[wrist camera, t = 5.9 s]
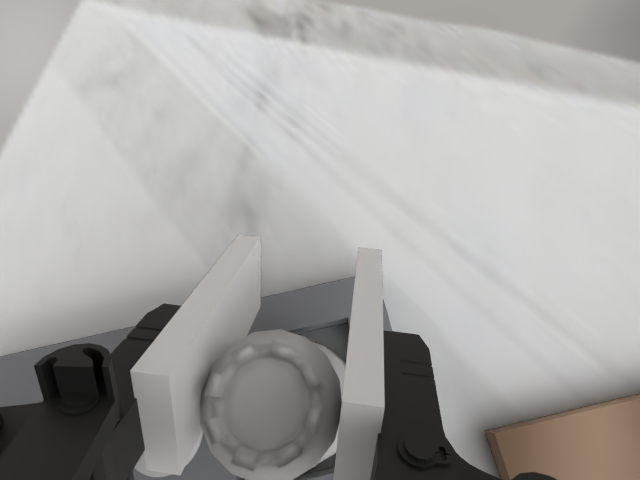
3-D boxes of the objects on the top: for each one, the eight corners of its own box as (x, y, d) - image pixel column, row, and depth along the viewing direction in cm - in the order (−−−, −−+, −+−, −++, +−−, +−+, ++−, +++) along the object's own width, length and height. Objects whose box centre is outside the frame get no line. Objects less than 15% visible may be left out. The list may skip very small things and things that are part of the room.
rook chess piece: (231, 360, 17) (142, 328, 9) (337, 327, 17) (334, 271, 9) (257, 482, 15) (173, 566, 8) (373, 443, 15) (404, 488, 8)
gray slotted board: (373, 280, 17) (376, 269, 16) (432, 492, 15) (442, 503, 13) (-4, 365, 17) (-38, 362, 15) (-21, 603, 14) (-65, 627, 13)
